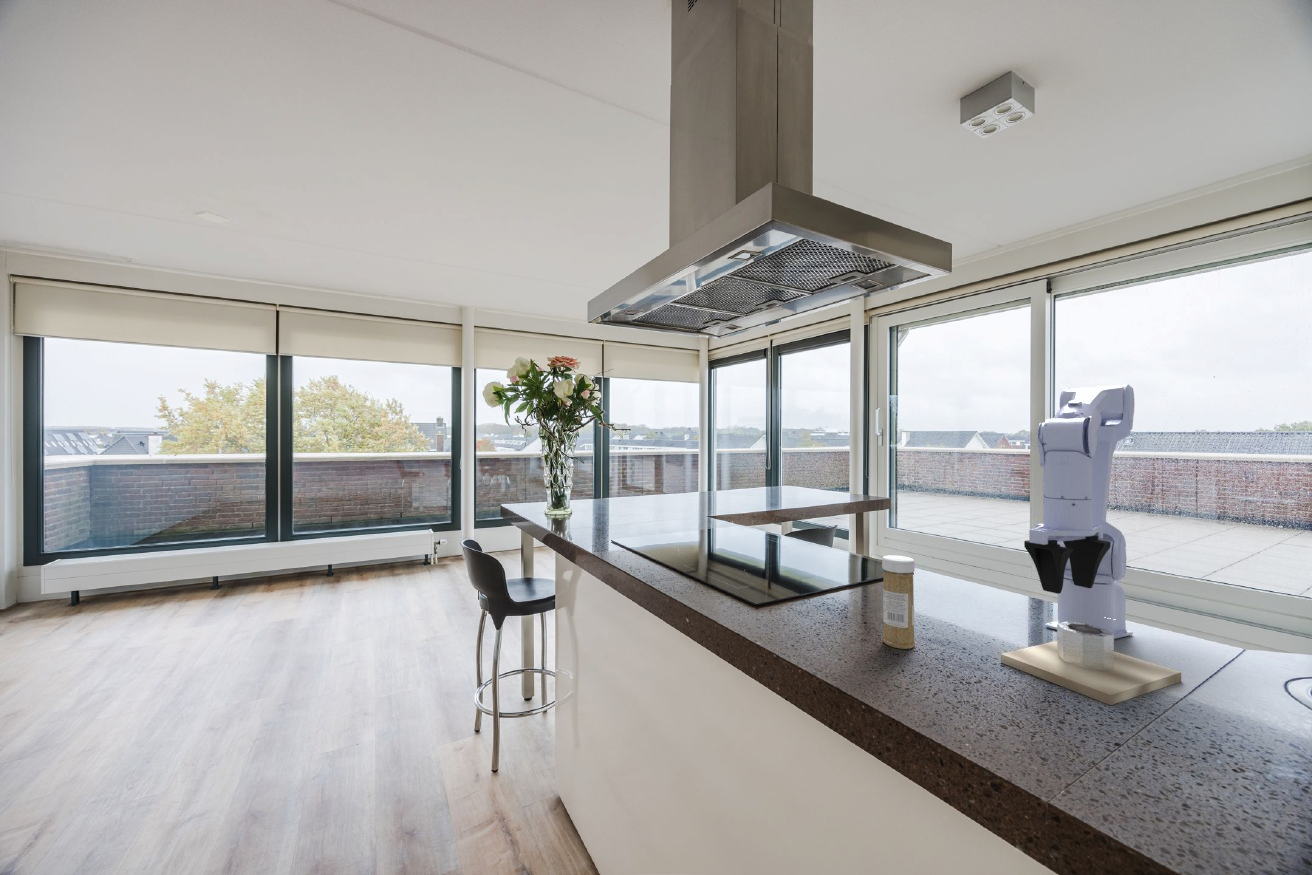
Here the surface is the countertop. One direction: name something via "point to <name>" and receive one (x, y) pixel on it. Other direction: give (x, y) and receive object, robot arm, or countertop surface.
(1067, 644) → the steel ring
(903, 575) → the sprinkles bottle
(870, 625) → the countertop surface
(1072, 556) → the robot arm
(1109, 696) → the post board
